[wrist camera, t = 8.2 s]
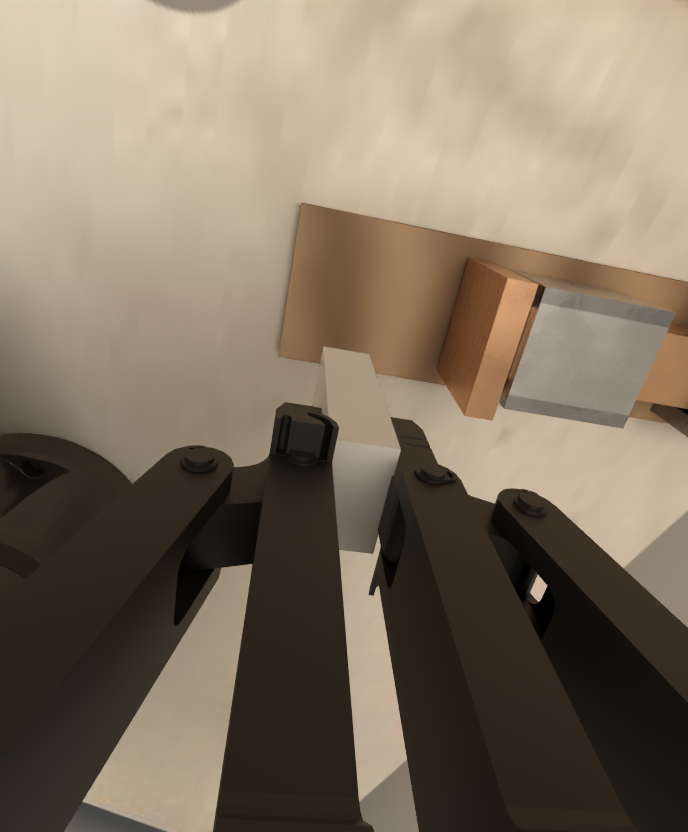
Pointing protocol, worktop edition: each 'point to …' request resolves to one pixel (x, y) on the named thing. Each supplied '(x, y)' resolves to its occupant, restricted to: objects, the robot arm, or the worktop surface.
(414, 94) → the worktop surface
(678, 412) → the grey box
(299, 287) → the board
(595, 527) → the worktop surface
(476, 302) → the wood grain post
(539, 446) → the worktop surface
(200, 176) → the worktop surface
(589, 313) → the grey concrete cube
